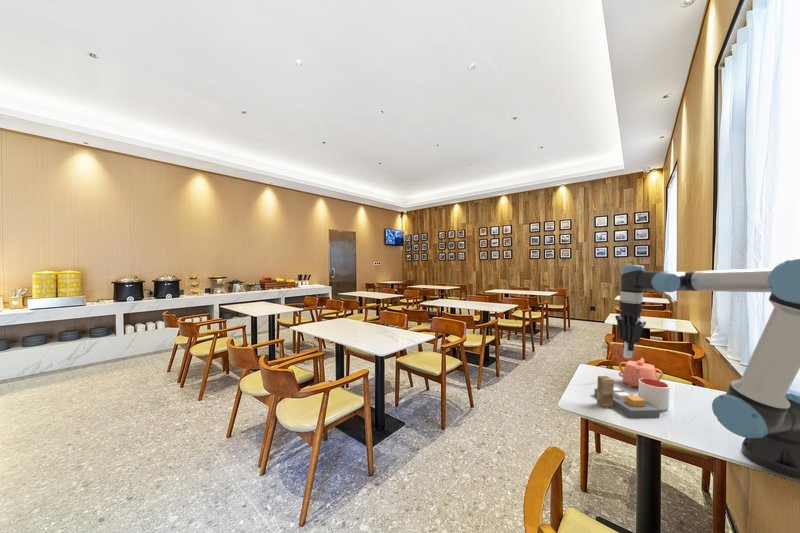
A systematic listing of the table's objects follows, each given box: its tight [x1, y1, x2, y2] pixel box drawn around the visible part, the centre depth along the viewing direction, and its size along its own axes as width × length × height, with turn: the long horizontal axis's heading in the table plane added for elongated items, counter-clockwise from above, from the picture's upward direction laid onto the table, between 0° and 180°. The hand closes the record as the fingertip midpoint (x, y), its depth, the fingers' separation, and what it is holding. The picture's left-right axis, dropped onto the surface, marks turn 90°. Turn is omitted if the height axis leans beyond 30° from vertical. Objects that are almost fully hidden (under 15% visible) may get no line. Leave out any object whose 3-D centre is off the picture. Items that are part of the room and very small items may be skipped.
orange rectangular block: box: [625, 395, 645, 407], centre depth 124 cm, size 4×5×3 cm
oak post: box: [596, 375, 615, 409], centre depth 128 cm, size 4×4×12 cm
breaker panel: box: [594, 386, 661, 419], centre depth 129 cm, size 20×12×4 cm, turn 5°
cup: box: [637, 378, 670, 412], centre depth 129 cm, size 10×10×10 cm
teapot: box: [618, 357, 664, 388], centre depth 149 cm, size 15×17×13 cm
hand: (627, 357), depth 128 cm, fingers closed
